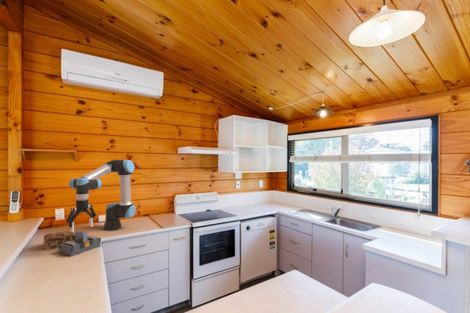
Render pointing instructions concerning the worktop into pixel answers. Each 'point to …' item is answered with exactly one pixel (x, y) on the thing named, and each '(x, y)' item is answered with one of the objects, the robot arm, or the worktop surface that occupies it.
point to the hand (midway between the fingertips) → (81, 229)
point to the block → (81, 236)
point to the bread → (57, 239)
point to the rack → (79, 246)
